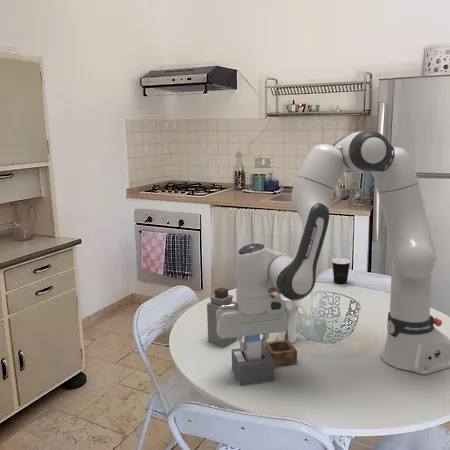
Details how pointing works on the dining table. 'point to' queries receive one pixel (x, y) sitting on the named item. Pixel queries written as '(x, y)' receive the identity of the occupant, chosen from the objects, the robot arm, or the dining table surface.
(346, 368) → the dining table surface
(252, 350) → the plug
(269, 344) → the holster
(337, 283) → the dixie cup
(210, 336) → the perfume bottle
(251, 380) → the port
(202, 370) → the dining table surface
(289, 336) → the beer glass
